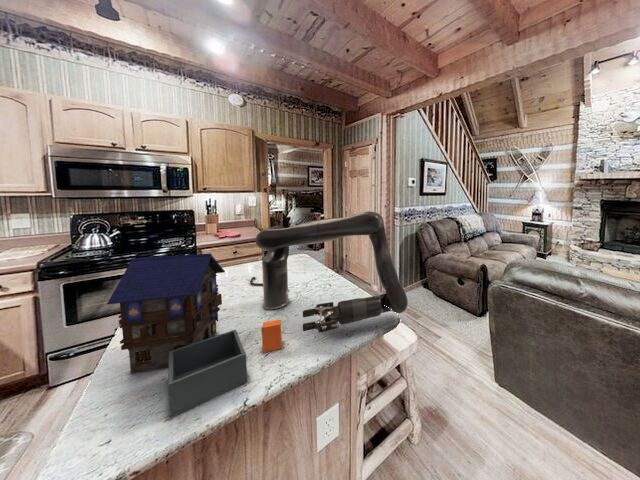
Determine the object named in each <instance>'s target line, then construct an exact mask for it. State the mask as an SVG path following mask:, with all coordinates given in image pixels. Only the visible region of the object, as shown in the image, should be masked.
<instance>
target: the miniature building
mask: <svg viewBox="0 0 640 480" xmlns="http://www.w3.org/2000/svg"><path fill="white" fill-rule="evenodd" d="M126 267H127V268H126V269H125V271H124V273H123V275H122V276H121V278H120V280H119V281H118V283H117V285H116V287H115V289H114V290H113V292H112V294H111V296H110V298H109V300H108V301H107V302H106V305H113V304H114V305H115V304H119V307H120V308H119V310H120V314H119V315H118V325H119V329H121V331H122V339H121V340H120V341H119V345H120V344H121V346H120V350H121V351H125V350H128V355H129V356H128V357H129V366H130V373H131V374H133V373H139V372H145V371H151V370H157V369H163V368H169V352H170V351H173V350H176V349H179V348H182V347H185V346H188V345H191V344H194V343H197V342H200V341H203V340H205V339H208V338H211V337H214V336H217V334H218V332H217V329H218V328H217V322H219V312H220V311H221V307H219V306H221V305H223V297H222V293H219V284H217V276H218V274H223V273H225V272H226V270H224V268H223V267H222V266H221V265H220V263H219V262H218V261H217V260H216V258H215V257H214V256H213V254H212V253H210V252H209V253H196V254H180V255H179V254H178V255H164V256H150V257H149V256H148V257H134V258H133V257H132V258H131V259H130V262H129V264H128V266H126Z"/></svg>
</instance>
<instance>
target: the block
mask: <svg viewBox="0 0 640 480" xmlns="http://www.w3.org/2000/svg"><path fill="white" fill-rule="evenodd" d="M282 337H283V335H282V319H281V318H279V319H275V320H270V321H269V320H268V321H264V322H263V323H262V326H261V338H262V339H261V341H262V353H263V354H264V353H267V352H272V351H276V350H281V349H282V344H283V338H282Z"/></svg>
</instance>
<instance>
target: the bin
mask: <svg viewBox="0 0 640 480" xmlns="http://www.w3.org/2000/svg"><path fill="white" fill-rule="evenodd" d="M247 366H248V365H247V352H246V351H245V348H244V346H243V344H242V341H241V339H240V335H239V334H238V331H237V329H232V330H230V331H226V332H223V333H221V334H218V335H217V334H216V335H215V336H214V337H211V338H208V339H205V340H203V341H200V342H197V343H194V344H191V345H188V346H185V347H182V348H179V349H176V350H173V351H170V352H169V367H168V369H167V370H168V372H167V374H168V375H167V389H168V390H167V391H168V403H169V415H170V418H173V417H175V416H178V415H179V414H181V413H184V412H186V411H188V410H190V409H192V408H194V407H196V406H199V405H201V404H203V403H205V402H208V401H209V400H211V399H213V398H216V397H218V396H220V395H222V394H224V393H227V392H230V391H231V390H233V389H235V388H237V387H239V386H242V385H243V384H246V383H248V369H247Z"/></svg>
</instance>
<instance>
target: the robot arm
mask: <svg viewBox="0 0 640 480" xmlns="http://www.w3.org/2000/svg"><path fill="white" fill-rule="evenodd" d="M354 236H367V237H368V238H369V241H370V243H371V246H372V249H373V256H374V265H375V269H376V274H377V276H378V280H379V283H380V285H381V288H383V289H384V292H385V293H382V294H379V295H374V296H368V297H358V298H352V299H346V300H341V301H338V303H337V305H335V304H334V301H328V302H323V303H317V304H315V306H314V308H309V309H303V310H302V318H309V317H314V316H319V317H320V319H318V320H316V321H315V320H314V321H309V322H305V323H303V324H302V331H303V332H308V331H312V330H313V331H314V330H316V331H317V332H318V334H321V333H325V332H329V331H334V330H336V329H338V328H339V325H340V326H344V325H348V324H352V323H357V322H361V321H363V320H366V319H372V318H375V317H379V316H381V315H382V314H385V313H387V312H388V313H389V312H393V313H395V312H396V314H402V313H404V312H405V311H406V310H407V308H408V305H409V304H408V303H409V301H408V296H407V294H406V291H405V289H404V288H403V285H402V283H401V281H400V280H399V276H398V273H397V270H396V266H395V264H394V261H393V258H392V254H391V251H390V248H389V244H388V239H387V234H386V227H385V221H384V217H383V216H382V215H381V214H380V213H379V212H376V211H370V210H369V211H364V212H362V213H361V212H360V213H356V214H354V215H350V216H345V217H330V218H329V217H328V218H322V219H321V218H319V219H314V220H309V221H306V222H302V223H299V224H296V225H293V226H289V227H284V226H282V225H273V226H271V227H267V228H264V229H261V230H260V231H259V232H258V233H257V235H256V237H255V245H256V246H257V248H258V249H260V250H262V251H264V252H267V253H266V255H264V257H263V259H262V260H261V269H262V273H261V274H262V283H261V282H260V283H258V282H253V281H254V280H256V277H255V276H252V277H251V278H250V281H249V283H250V284H251V285H252V286H262V291H263V293H262V295H263V308H264V309H265V310H277V309H281V308H283V307H285V306H287V305H288V304H289V302H290V300H289V299H290V298H289V292H290V288H289V278H288V277H289V275H288V258H289V256H290V247H291V246H293V247H294V246H303V245H313V244H314V245H315V244H321V243H329V242H332V241H336V240H338V239H339V240H340V239H341V238H346V237H354ZM334 305H335V306H334ZM384 305H385V306H384ZM386 306H387V307H386ZM388 307H389V308H388ZM391 309H392V310H391Z"/></svg>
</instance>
